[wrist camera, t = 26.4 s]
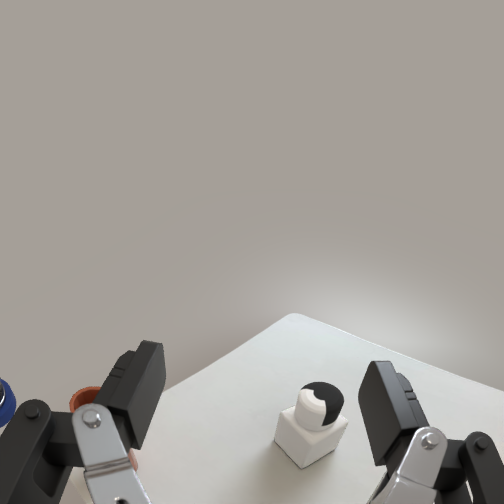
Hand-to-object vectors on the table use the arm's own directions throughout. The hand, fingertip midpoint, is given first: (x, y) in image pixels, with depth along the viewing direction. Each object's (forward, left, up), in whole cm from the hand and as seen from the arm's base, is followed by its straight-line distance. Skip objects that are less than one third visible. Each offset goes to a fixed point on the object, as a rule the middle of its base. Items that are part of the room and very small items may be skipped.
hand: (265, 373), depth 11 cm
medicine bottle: (+18, +11, -32) cm, 39 cm away
